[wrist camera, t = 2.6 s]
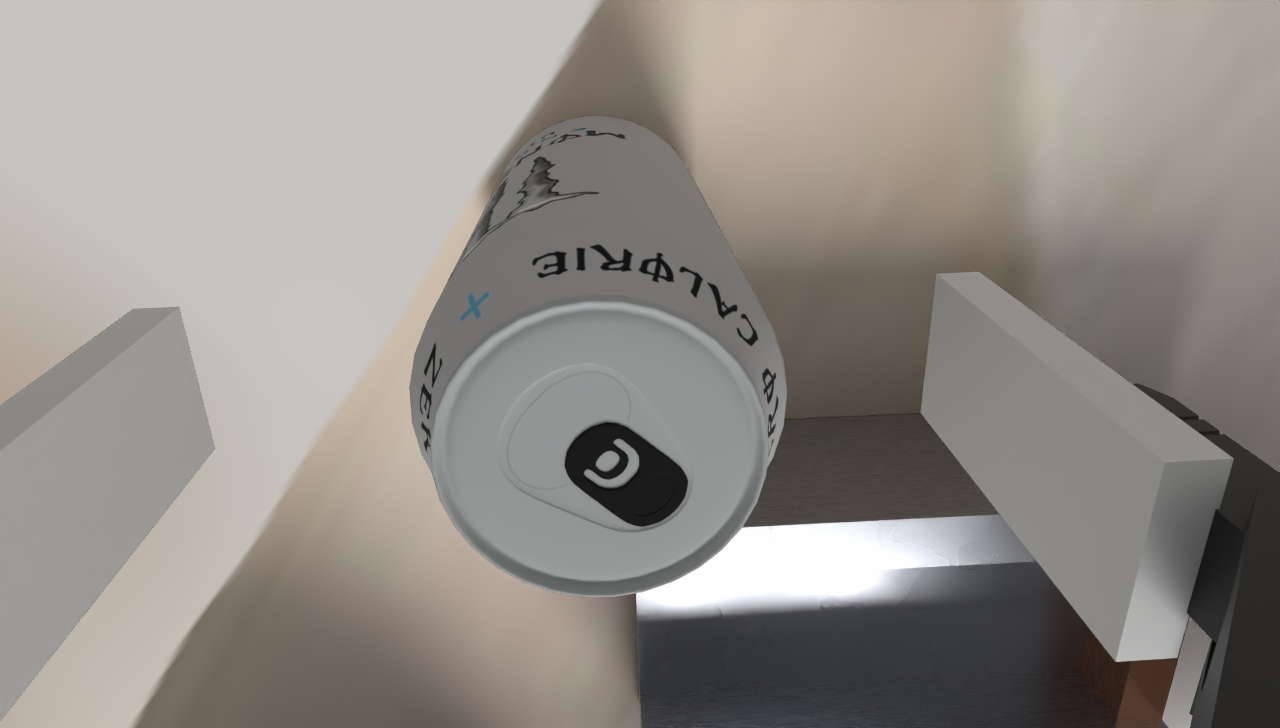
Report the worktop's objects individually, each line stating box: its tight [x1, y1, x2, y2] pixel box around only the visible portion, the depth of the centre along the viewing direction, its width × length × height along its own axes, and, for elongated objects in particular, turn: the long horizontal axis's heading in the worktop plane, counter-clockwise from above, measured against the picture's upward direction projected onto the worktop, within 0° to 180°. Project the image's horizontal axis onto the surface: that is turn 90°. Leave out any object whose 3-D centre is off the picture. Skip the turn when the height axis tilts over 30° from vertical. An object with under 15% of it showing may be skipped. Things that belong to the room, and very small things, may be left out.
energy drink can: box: [410, 116, 787, 597], centre depth 19 cm, size 6×6×15 cm
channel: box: [635, 413, 1190, 728], centre depth 29 cm, size 18×12×6 cm, turn 92°
